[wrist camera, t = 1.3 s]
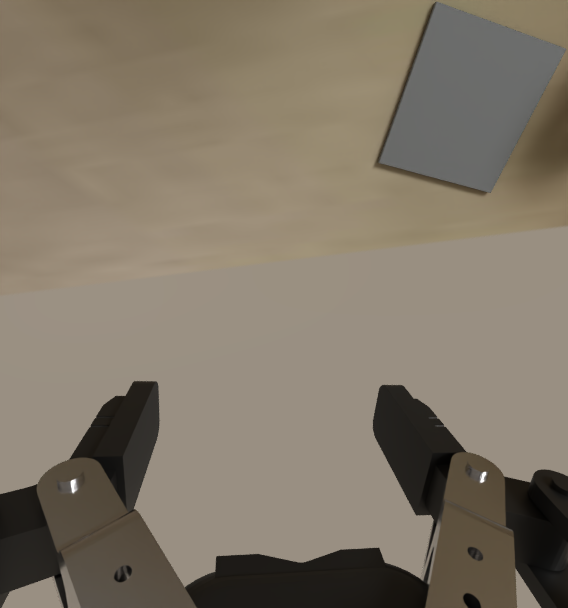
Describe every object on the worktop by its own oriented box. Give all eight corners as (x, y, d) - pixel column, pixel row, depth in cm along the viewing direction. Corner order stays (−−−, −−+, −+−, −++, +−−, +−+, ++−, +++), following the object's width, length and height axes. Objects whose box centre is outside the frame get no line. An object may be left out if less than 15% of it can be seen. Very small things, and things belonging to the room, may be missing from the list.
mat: (434, 2, 27) (436, 1, 27) (562, 49, 29) (566, 48, 29) (377, 162, 33) (379, 162, 33) (488, 191, 35) (490, 192, 35)
